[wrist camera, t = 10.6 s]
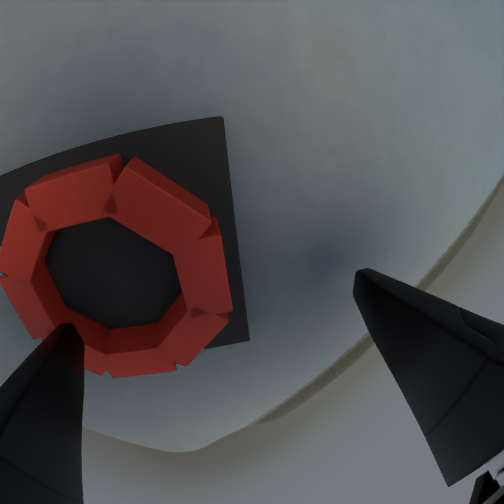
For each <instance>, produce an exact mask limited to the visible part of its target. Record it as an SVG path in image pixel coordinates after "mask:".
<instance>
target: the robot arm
mask: <svg viewBox="0 0 504 504" xmlns="http://www.w3.org/2000/svg"><path fill="white" fill-rule="evenodd" d="M353 297H354V299H355V302H356V304H357V306H358V308H359V310H360V313H361V315H362V317H363V319H364V322H365V324H366V326H367V328H368V331H369V333H370V335H371V337H372V339H373V340H374V342H375V344H376V346H377V347H378V349H379V351H380V353H381V354H382V356H383V358H384V360H385V362H386V363H387V365H388V367H389V369H390V371H391V373H392V374H393V376H394V378H395V380H396V382H397V384H398V385H399V387H400V389H401V391H402V393H403V395H404V397H405V399H406V401H407V403H408V404H409V406H410V408H411V410H412V412H413V414H414V416H415V418H416V420H417V422H418V424H419V426H420V428H421V430H422V432H423V434H424V436H425V437H426V441H427V443H428V445H429V447H430V449H431V451H432V453H433V455H434V457H435V460H436V462H437V464H438V466H439V468H440V471H441V473H442V475H443V477H444V479H445V482H446V484H447V486H448V487H450V486H451V485H453V484H455V483H456V482H458V481H460V480H461V479H463V478H464V477H466V476H467V475H469V474H470V473H472V472H474V471H475V470H477V469H478V468H480V467H481V466H482V465H483V464H485V465H486V467H487V470H486V471H485V472H484V473H482V474H481V475H480V476H479V477H478V478H476V481H475V485H474V489H473V492H472V496H471V499H470V503H469V504H504V325H503V324H500V323H497V322H494V321H492V320H489V319H487V318H484V317H482V316H479V315H477V314H475V313H472V312H470V311H468V310H465V309H463V308H461V307H459V308H458V306H456V305H454V304H452V303H450V302H447V301H445V300H443V299H440V298H438V297H436V296H434V295H431V294H429V293H427V292H424V291H422V290H420V289H417V288H415V287H413V286H410V285H408V284H406V283H403V282H401V281H398V280H396V279H394V278H391V277H389V276H386V275H384V274H382V273H379V272H377V271H374V270H372V269H370V268H365V269H361V270H358V271H357V272H356V274H355V280H354V287H353ZM84 355H85V346H84V342H83V339H82V338H81V336H80V334H79V333H78V331H77V329H76V327H75V326H74V324H73V323H71V322H67V323H61V324H60V325H58V326H57V327H56V328H55V329H54V330H53V331H52V332H51V333H50V334H49V335H48V336H47V337H46V339H45V340H44V341H43V342H42V343H41V344H40V345H39V346H38V347H37V348H36V349H35V350H34V351H33V352H32V353H31V354H30V355H29V356H28V357H27V358H26V359H25V360H24V361H23V363H22V364H21V365H20V366H19V367H18V368H17V369H16V370H15V371H14V372H13V373H12V375H11V376H10V377H9V378H8V379H7V380H6V381H5V382H4V384H3V385H2V386H1V387H0V504H84V500H83V486H82V458H81V457H82V456H81V446H82V444H81V443H82V414H83V399H84Z"/></svg>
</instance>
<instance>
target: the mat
mask: <svg viewBox="0 0 504 504" xmlns="http://www.w3.org/2000/svg"><path fill="white" fill-rule="evenodd" d="M115 154H120V155H121V161H122V165H123V169H124V167H125V166H126V165H127V164H128V163H129V162H130V160H131V159H132V158H133V157H137V158H139V159H140V160H142V161H143V162H145V163H146V164H148V165H149V166H151V167H152V168H154V169H155V170H157V171H159V172H160V173H162V174H163V175H165V176H166V177H168V178H169V179H171V180H172V181H174V182H175V183H177V184H178V185H180V186H181V187H183V188H184V189H186V190H187V191H189V192H190V193H192V194H193V195H195V196H196V197H198V198H199V199H201V200H202V201H204V202H205V203H207V204H208V207H209V212H210V216H211V217H216V218H217V221H218V225H219V229H220V233H221V237H222V244H223V250H224V257H225V263H226V270H227V276H228V283H229V289H230V295H231V301H232V307H233V311H230V312H227V314H228V319H229V322H228V323H227V324H226V325H225V327H224V328H223V329H222V330H221V331H220V332H219V333H218V334H217V335H216V336H215V337H214V338H213V339H212V340H211V341H210V342H209V343H208V344H207V345H206V346H205V347H204V348H203V349H207V348H213V347H218V346H224V345H229V344H234V343H239V342H244V341H249V340H250V337H249V330H248V322H247V314H246V306H245V299H244V291H243V283H242V275H241V267H240V259H239V250H238V242H237V234H236V226H235V217H234V209H233V200H232V191H231V183H230V174H229V165H228V156H227V147H226V138H225V129H224V119H223V117H221V116H219V117H212V118H204V119H198V120H191V121H185V122H179V123H174V124H168V125H163V126H158V127H153V128H149V129H144V130H139V131H135V132H131V133H127V134H122V135H118V136H114V137H111V138H107V139H103V140H100V141H96V142H92V143H89V144H86V145H82V146H79V147H76V148H73V149H70V150H66V151H63V152H60V153H57V154H55V155H52V156H49V157H46V158H43V159H41V160H38V161H35V162H33V163H30V164H27V165H25V166H22V167H20V168H17V169H15V170H13V171H10V172H8V173H6V174H3V175H1V176H0V246H1V247H2V243H3V239H4V235H5V231H6V228H7V224H8V221H9V217H10V214H11V211H12V208H13V205H14V202H15V199H16V198H18V197H19V196H20V195H22V194H23V193H24V192H25V191H24V189H25V188H26V187H28V186H29V185H31V184H32V183H34V182H35V181H36V180H38V179H39V178H41V177H42V176H44V175H47V174H50V173H53V172H56V171H59V170H62V169H65V168H68V167H71V166H75V165H78V164H81V163H85V162H88V161H92V160H96V159H99V158H103V157H107V156H111V155H115ZM44 261H45V263H46V266H47V268H48V270H49V273H50V275H51V277H52V279H53V281H54V283H55V286H56V288H57V290H58V292H59V294H60V296H61V298H62V300H63V302H64V304H65V306H67V307H68V308H70V309H72V310H74V311H76V312H78V313H79V314H81V315H83V316H85V317H87V318H89V319H91V320H93V321H95V322H97V323H99V324H101V325H103V326H105V327H107V328H109V329H116V328H124V327H131V326H138V325H145V324H151V323H158V322H159V321H160V320H161V318H162V317H163V316H164V314H165V313H166V312H167V310H168V309H169V308H170V307H171V305H172V304H173V303H174V301H175V300H176V299H177V298H178V296H179V295H180V294H181V293H182V288H181V285H180V281H179V277H178V273H177V269H176V266H175V262H174V258H173V254H171V253H170V252H168V251H166V250H164V249H163V248H161V247H159V246H158V245H156V244H154V243H153V242H151V241H149V240H147V239H146V238H144V237H142V236H141V235H139V234H137V233H136V232H134V231H132V230H131V229H129V228H128V227H126V226H124V225H123V224H121V223H119V222H118V221H116V220H114V219H113V218H111V217H106V218H102V219H97V220H93V221H89V222H85V223H81V224H77V225H72V226H68V227H65V228H61V229H57V230H56V232H55V234H54V236H53V239H52V241H51V244H50V246H49V249H48V252H47V254H46V257H45V260H44Z"/></svg>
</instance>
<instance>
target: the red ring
mask: <svg viewBox="0 0 504 504" xmlns="http://www.w3.org/2000/svg"><path fill="white" fill-rule="evenodd" d="M24 191H25V192H24V193H23V194H22V195H20V196H19V197H18V198H16V199H15V202H14V205H13V208H12V211H11V214H10V217H9V221H8V224H7V228H6V231H5V235H4V239H3V243H2V247H1V251H0V270H1V271H2V272H3V275H2V276H1V278H0V283H1V285H2V287H3V289H4V291H5V293H6V295H7V296H8V298H9V300H10V302H11V304H12V305H13V307H14V309H15V311H16V312H17V314H18V316H19V318H20V319H21V321H22V323H23V324H24V326H25V327H26V329H27V331H28V332H29V334H30V335H31V337H32V338H33V339H37V338H44V339H43V341H44V340H45V339H46V337H47V336H48V335H49V334H50V333H51V332H52V331H53V330H54V329H55V328H56V327H57V326H58V325H60V324H61V323H67V322H71V323H73V324H74V326H75V327H76V329H77V331H78V333H79V334H80V336H81V338H82V339H83V342H84V346H85V355H84V368H85V369H87V370H90V371H92V372H94V373H96V374H99V375H102V374H103V373H104V371H105V370H106V369H107V370H108V372H109V373H110V375H111V376H112V377H113V378H115V377H127V376H137V375H146V374H155V373H163V372H170V371H176V363H178V364H181V365H183V366H187V365H188V364H189V363H190V362H191V361H192V360H193V359H194V358H195V357H196V356H197V355H198V354H199V353H200V352H201V351H202V349H203V348H204V347H205V346H206V345H207V344H208V343H209V342H210V341H211V340H212V339H213V338H214V337H215V336H216V335H217V334H218V333H219V332H220V331H221V330H222V329H223V328H224V327H225V325H226V324H227V323H228V322H229V319H228V314H227V312H230V311H233V307H232V301H231V295H230V289H229V283H228V276H227V270H226V263H225V257H224V250H223V244H222V237H221V233H220V229H219V225H218V221H217V218H216V217H211V216H210V212H209V207H208V204H207V203H205V202H204V201H202V200H201V199H199V198H198V197H196V196H195V195H193V194H192V193H190V192H189V191H187V190H186V189H184V188H183V187H181V186H180V185H178V184H177V183H175V182H174V181H172V180H171V179H169V178H168V177H166V176H165V175H163V174H162V173H160V172H159V171H157V170H155V169H154V168H152V167H151V166H149V165H148V164H146V163H145V162H143V161H142V160H140V159H139V158H137V157H133V158H132V159H131V160H130V162H129V163H128V164H127V165H126V166H125V167H124V169H123V165H122V161H121V155H120V154H115V155H111V156H107V157H103V158H99V159H96V160H92V161H88V162H85V163H81V164H78V165H75V166H71V167H68V168H65V169H62V170H59V171H56V172H53V173H50V174H47V175H44V176H42V177H41V178H39V179H38V180H36V181H35V182H34V183H32V184H31V185H29V186H28V187H26V188H25V189H24ZM106 217H111V218H113V219H114V220H116V221H118V222H119V223H121V224H123V225H124V226H126V227H128V228H129V229H131V230H132V231H134V232H136V233H137V234H139V235H141V236H142V237H144V238H146V239H147V240H149V241H151V242H153V243H154V244H156V245H158V246H159V247H161V248H163V249H164V250H166V251H168V252H170V253H171V254H173V258H174V262H175V266H176V269H177V273H178V277H179V281H180V285H181V288H182V293H181V294H180V295H179V296H178V298H177V299H176V300H175V301H174V303H173V304H172V305H171V307H170V308H169V309H168V310H167V312H166V313H165V314H164V316H163V317H162V318H161V320H160V321H159V322H158V323H151V324H145V325H138V326H131V327H124V328H116V329H109V328H107V327H105V326H103V325H101V324H99V323H97V322H95V321H93V320H91V319H89V318H87V317H85V316H83V315H81V314H79V313H78V312H76V311H74V310H72V309H70V308H68V307H67V306H65V304H64V302H63V300H62V298H61V296H60V294H59V292H58V290H57V288H56V286H55V283H54V281H53V279H52V277H51V275H50V273H49V270H48V268H47V266H46V263H45V261H44V260H45V257H46V254H47V252H48V249H49V246H50V244H51V241H52V239H53V236H54V234H55V232H56V230H57V229H61V228H65V227H68V226H72V225H77V224H81V223H85V222H89V221H93V220H97V219H102V218H106Z"/></svg>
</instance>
